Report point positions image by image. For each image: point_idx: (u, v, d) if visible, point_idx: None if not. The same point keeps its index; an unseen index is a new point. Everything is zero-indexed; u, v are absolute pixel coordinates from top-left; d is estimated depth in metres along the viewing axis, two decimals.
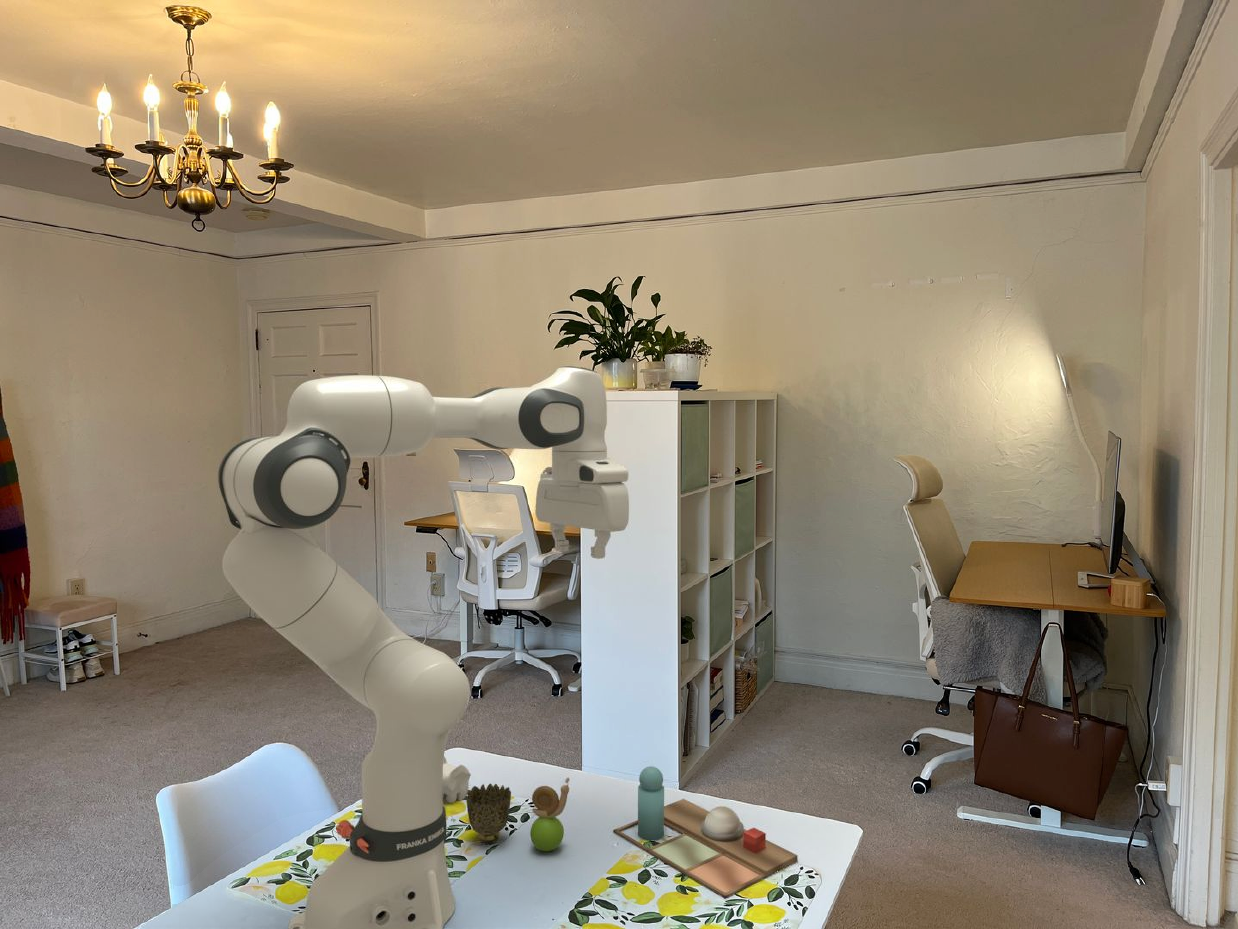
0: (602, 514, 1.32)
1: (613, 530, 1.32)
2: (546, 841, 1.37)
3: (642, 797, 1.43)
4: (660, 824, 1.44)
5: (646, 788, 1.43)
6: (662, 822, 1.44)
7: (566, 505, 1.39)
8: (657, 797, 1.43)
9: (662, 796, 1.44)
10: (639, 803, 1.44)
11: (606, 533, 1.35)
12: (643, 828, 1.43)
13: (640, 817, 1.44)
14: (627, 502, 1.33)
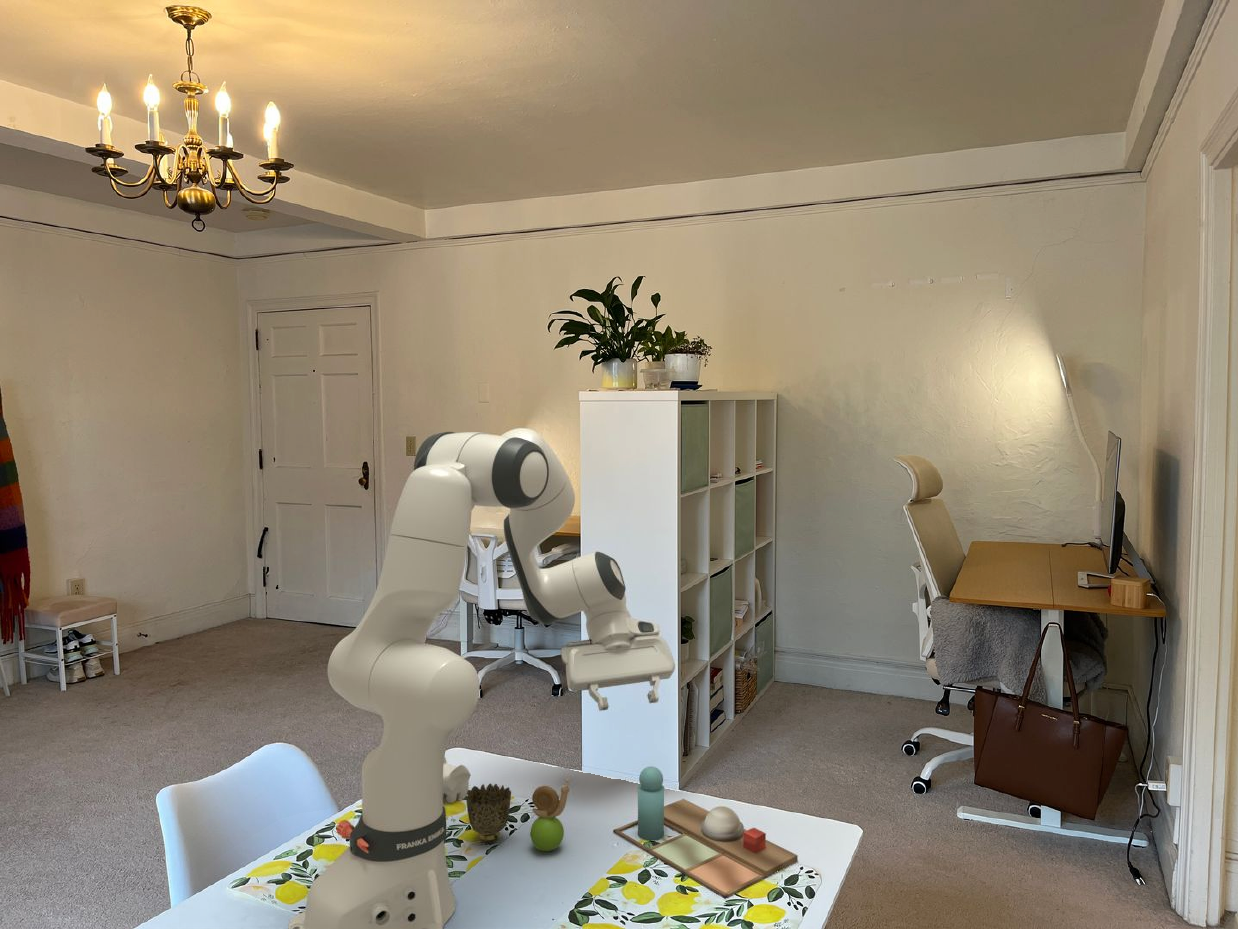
0: (662, 658, 1.61)
1: (673, 671, 1.61)
2: (546, 841, 1.37)
3: (642, 797, 1.43)
4: (660, 824, 1.44)
5: (646, 788, 1.43)
6: (662, 822, 1.44)
7: (615, 661, 1.59)
8: (657, 797, 1.43)
9: (662, 796, 1.44)
10: (639, 803, 1.44)
11: None
12: (643, 828, 1.43)
13: (640, 817, 1.44)
14: None
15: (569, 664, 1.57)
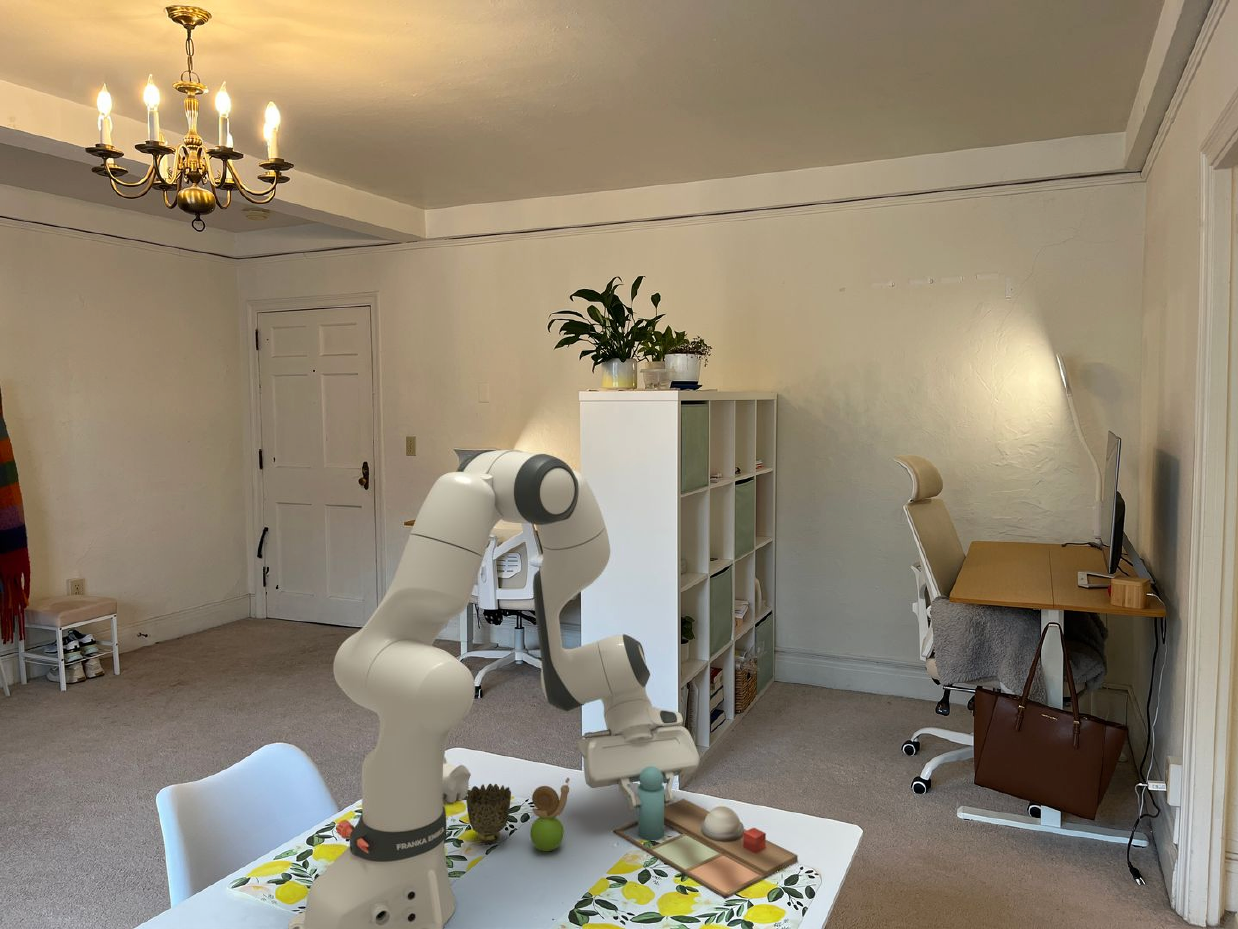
0: (686, 752, 1.50)
1: (697, 766, 1.50)
2: (546, 841, 1.37)
3: (642, 797, 1.43)
4: (660, 824, 1.44)
5: (646, 788, 1.43)
6: (662, 822, 1.44)
7: (637, 755, 1.48)
8: (657, 797, 1.43)
9: (662, 796, 1.44)
10: None
11: None
12: (643, 828, 1.43)
13: (640, 817, 1.44)
14: None
15: (588, 758, 1.45)
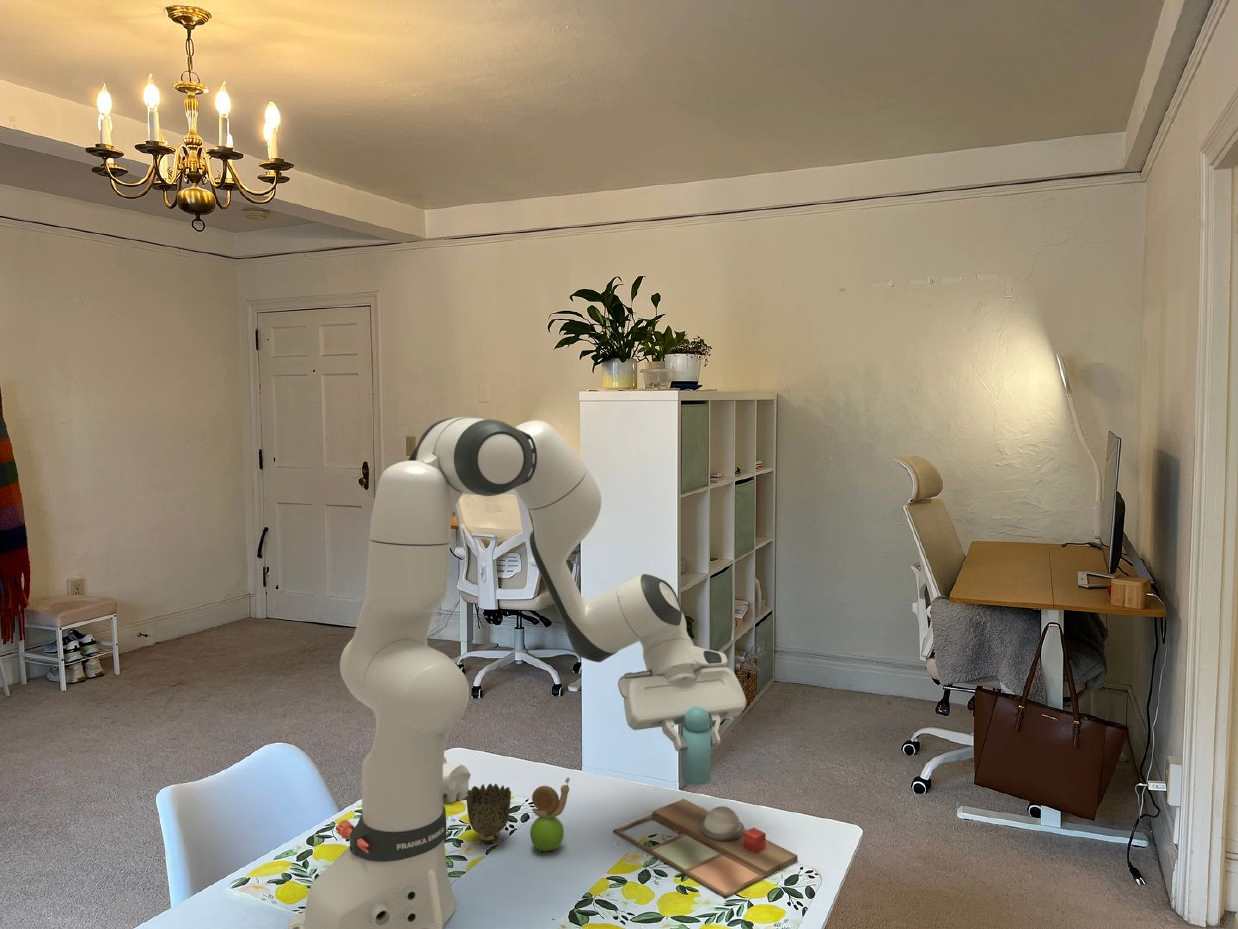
0: (732, 693, 1.42)
1: None
2: (546, 841, 1.37)
3: (688, 738, 1.35)
4: (706, 767, 1.35)
5: (692, 729, 1.35)
6: (709, 765, 1.36)
7: (681, 695, 1.39)
8: (704, 739, 1.34)
9: (709, 737, 1.35)
10: None
11: None
12: (689, 771, 1.35)
13: (686, 760, 1.35)
14: None
15: (630, 698, 1.37)
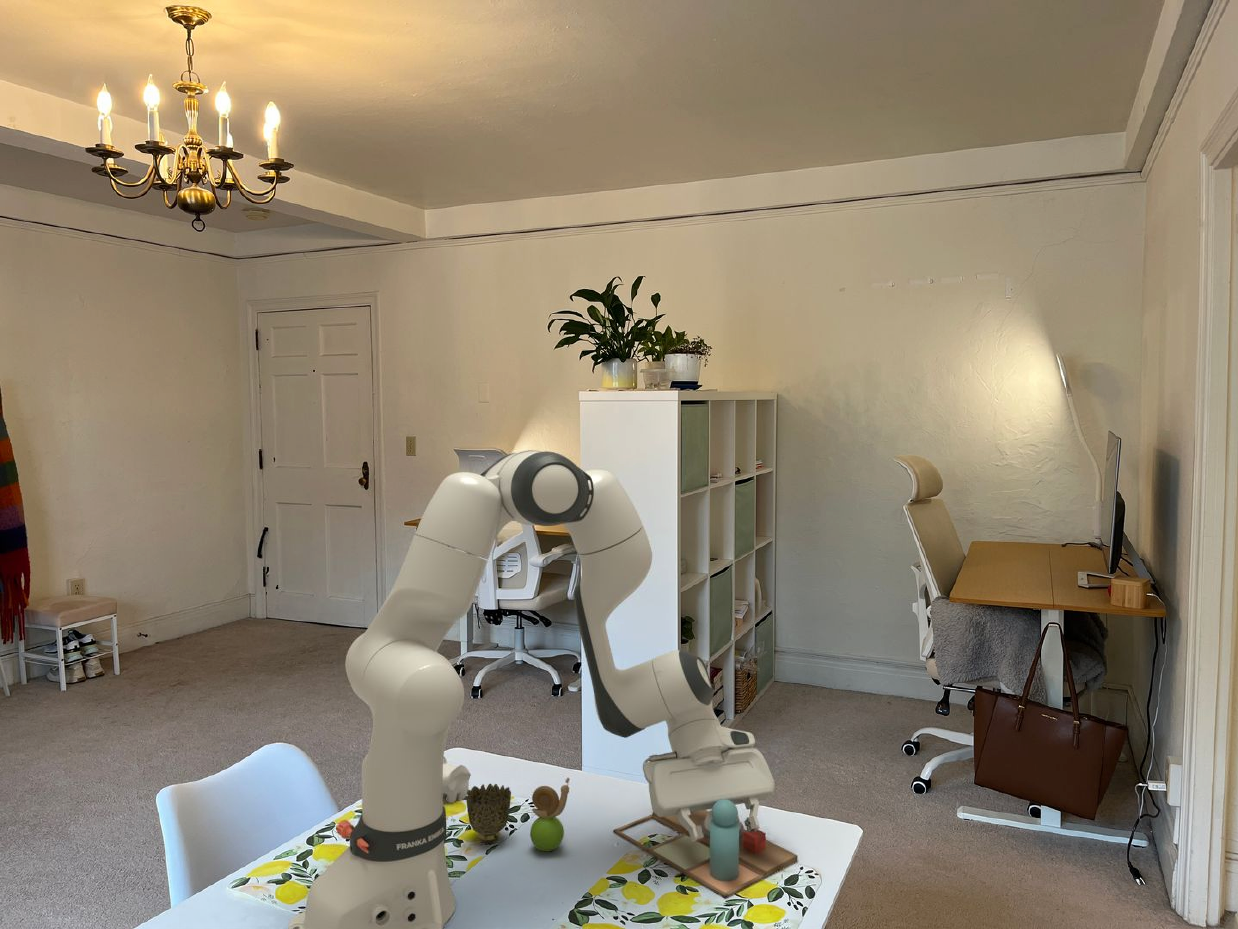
0: (760, 776, 1.37)
1: (772, 792, 1.37)
2: (546, 841, 1.37)
3: (715, 833, 1.30)
4: (735, 863, 1.31)
5: (720, 824, 1.30)
6: (737, 861, 1.31)
7: (708, 780, 1.35)
8: (732, 834, 1.30)
9: (737, 832, 1.31)
10: (712, 840, 1.31)
11: None
12: (717, 867, 1.31)
13: (713, 856, 1.31)
14: None
15: (655, 784, 1.32)
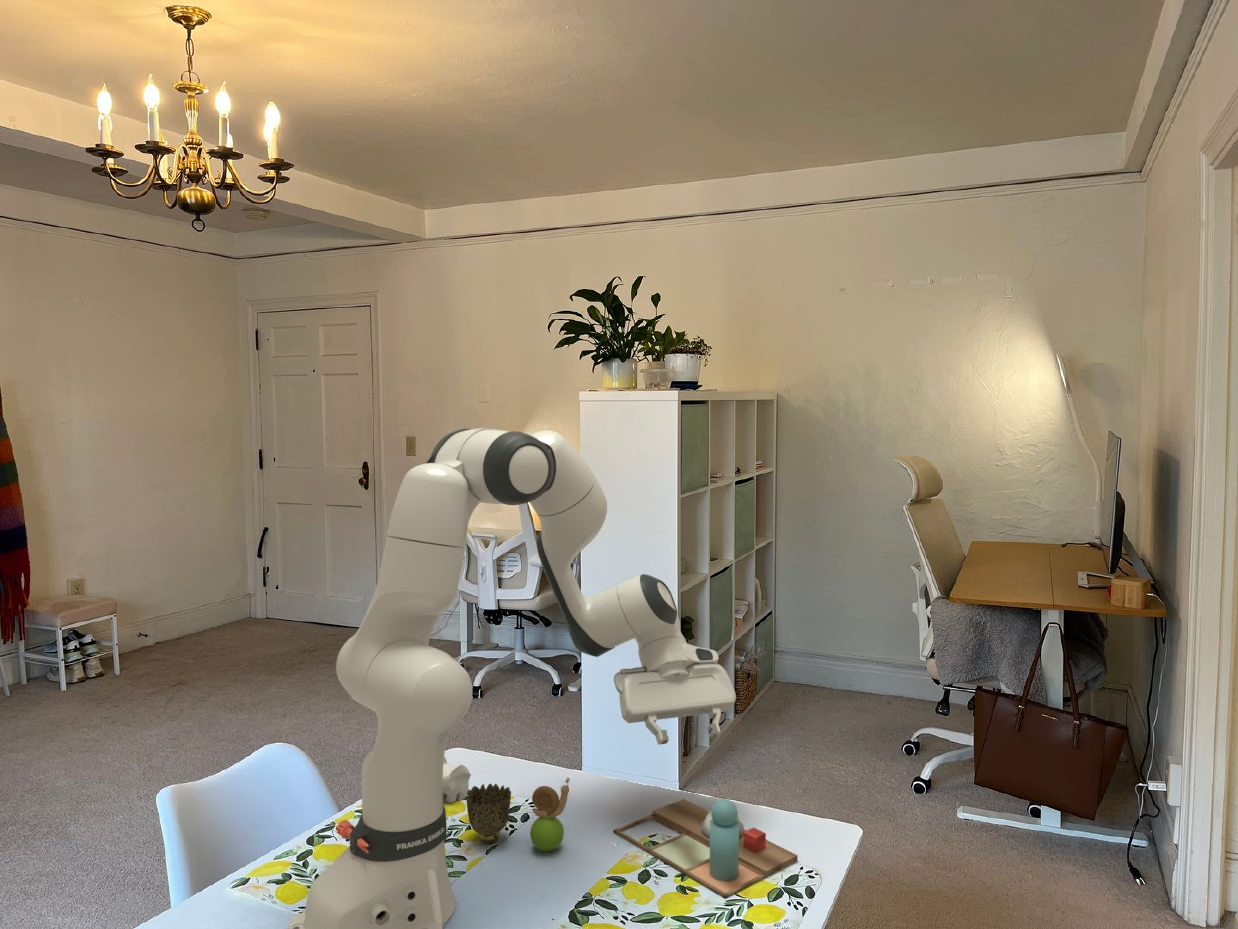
0: (723, 689, 1.49)
1: None
2: (546, 841, 1.37)
3: (715, 833, 1.31)
4: (735, 863, 1.31)
5: (720, 823, 1.30)
6: (737, 860, 1.31)
7: (674, 690, 1.46)
8: (732, 834, 1.30)
9: (737, 832, 1.31)
10: (712, 840, 1.31)
11: None
12: (717, 867, 1.31)
13: (713, 856, 1.31)
14: None
15: (625, 693, 1.44)
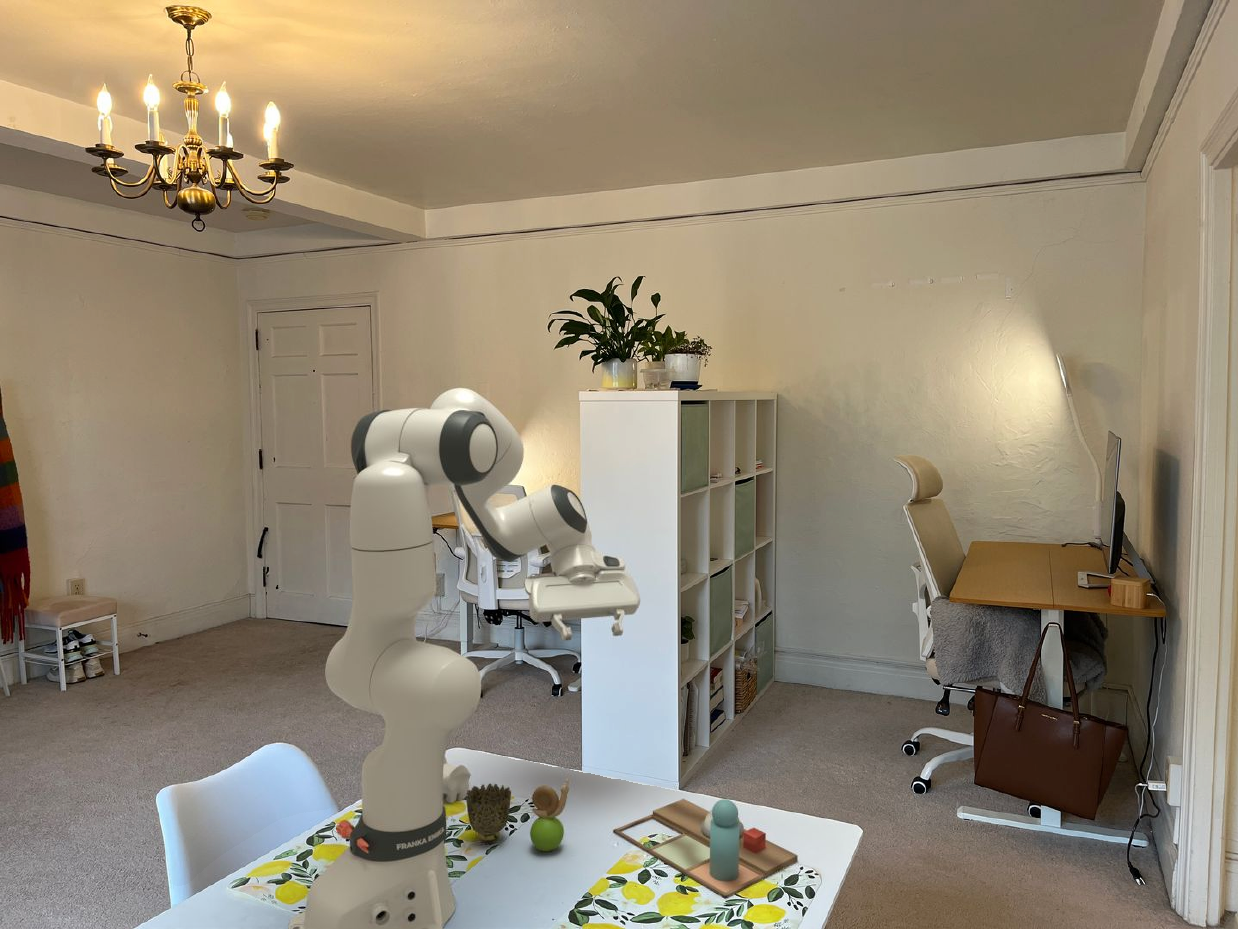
0: (628, 593, 1.58)
1: (638, 606, 1.58)
2: (546, 841, 1.37)
3: (716, 833, 1.30)
4: (735, 863, 1.31)
5: (720, 824, 1.30)
6: (737, 861, 1.31)
7: (580, 593, 1.55)
8: (732, 834, 1.30)
9: (737, 832, 1.31)
10: (712, 840, 1.31)
11: None
12: (717, 867, 1.31)
13: (713, 856, 1.31)
14: None
15: (532, 593, 1.53)
